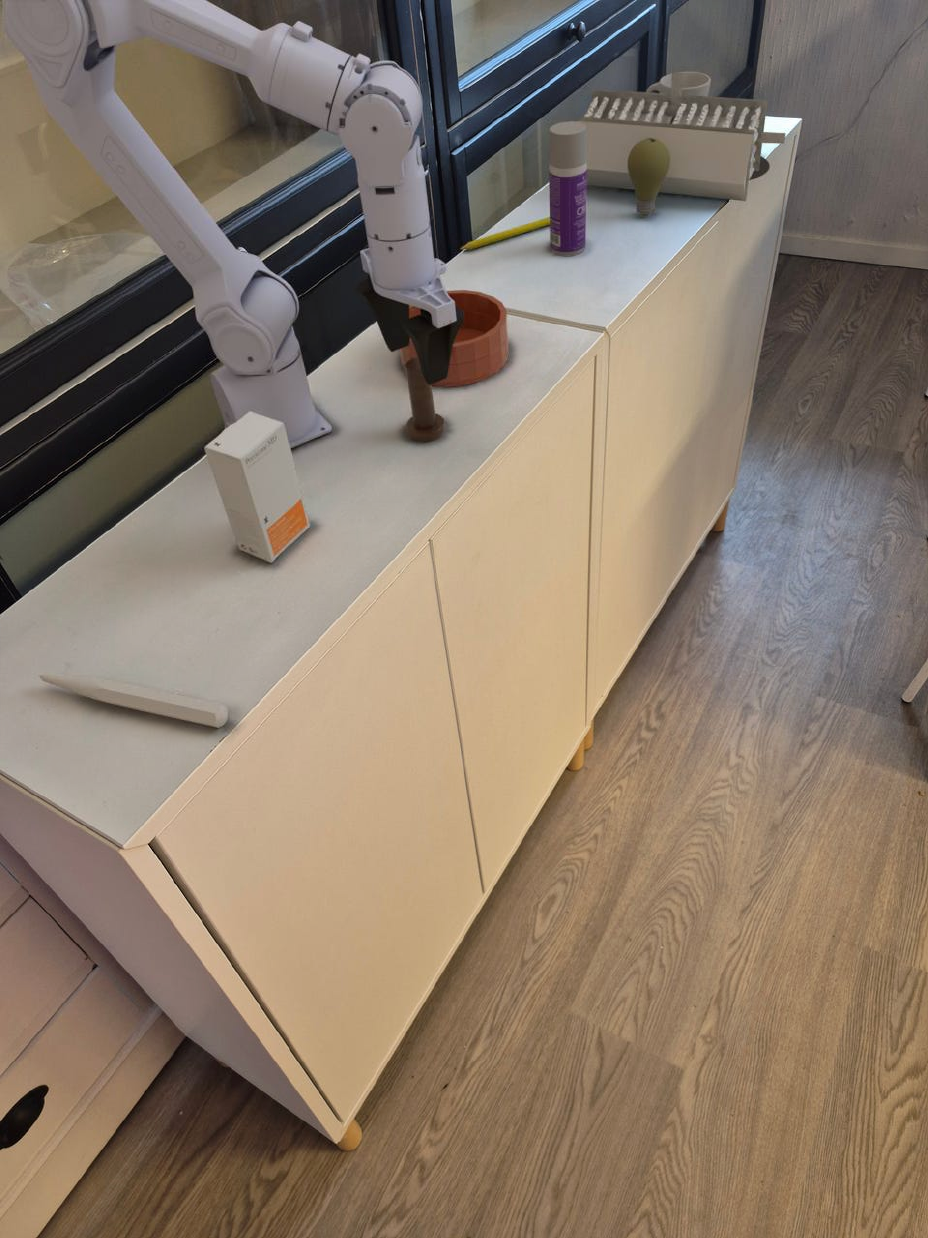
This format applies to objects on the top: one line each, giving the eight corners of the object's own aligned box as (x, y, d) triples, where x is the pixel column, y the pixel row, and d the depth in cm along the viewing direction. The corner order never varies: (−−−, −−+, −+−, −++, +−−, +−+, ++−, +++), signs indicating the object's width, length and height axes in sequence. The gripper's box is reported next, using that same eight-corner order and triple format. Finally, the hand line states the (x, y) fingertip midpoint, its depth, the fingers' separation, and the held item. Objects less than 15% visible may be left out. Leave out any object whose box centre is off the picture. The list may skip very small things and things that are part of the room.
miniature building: (779, 172, 127) (762, 219, 124) (595, 154, 136) (573, 198, 132) (793, 79, 116) (774, 128, 112) (590, 67, 125) (566, 112, 121)
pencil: (565, 221, 127) (561, 215, 127) (566, 216, 126) (563, 210, 126) (460, 254, 122) (457, 248, 123) (461, 249, 121) (458, 243, 122)
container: (583, 256, 119) (585, 134, 108) (548, 255, 120) (546, 135, 109) (587, 240, 122) (589, 120, 111) (552, 239, 123) (551, 120, 112)
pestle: (419, 446, 93) (409, 379, 87) (400, 428, 96) (389, 362, 90) (452, 432, 94) (444, 365, 89) (432, 415, 97) (424, 348, 91)
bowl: (436, 399, 99) (431, 359, 95) (383, 352, 106) (376, 313, 103) (529, 360, 103) (528, 320, 99) (471, 318, 110) (468, 279, 106)
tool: (46, 661, 75) (46, 684, 75) (31, 666, 73) (30, 690, 73) (232, 702, 71) (231, 726, 71) (221, 708, 69) (219, 732, 69)
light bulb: (672, 210, 126) (678, 134, 118) (655, 227, 123) (661, 149, 115) (635, 204, 128) (639, 128, 121) (618, 220, 125) (621, 144, 118)
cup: (698, 150, 139) (704, 89, 132) (635, 146, 142) (638, 86, 136) (709, 132, 143) (716, 72, 137) (647, 128, 146) (651, 69, 140)
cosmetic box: (272, 565, 83) (238, 460, 74) (238, 550, 85) (200, 446, 76) (313, 525, 86) (285, 421, 77) (279, 512, 88) (248, 409, 79)
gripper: (480, 240, 76) (490, 380, 86) (398, 188, 85) (416, 321, 95) (408, 266, 74) (427, 407, 84) (331, 211, 83) (357, 344, 93)
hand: (417, 363), depth 89 cm, fingers open, 7 cm apart
